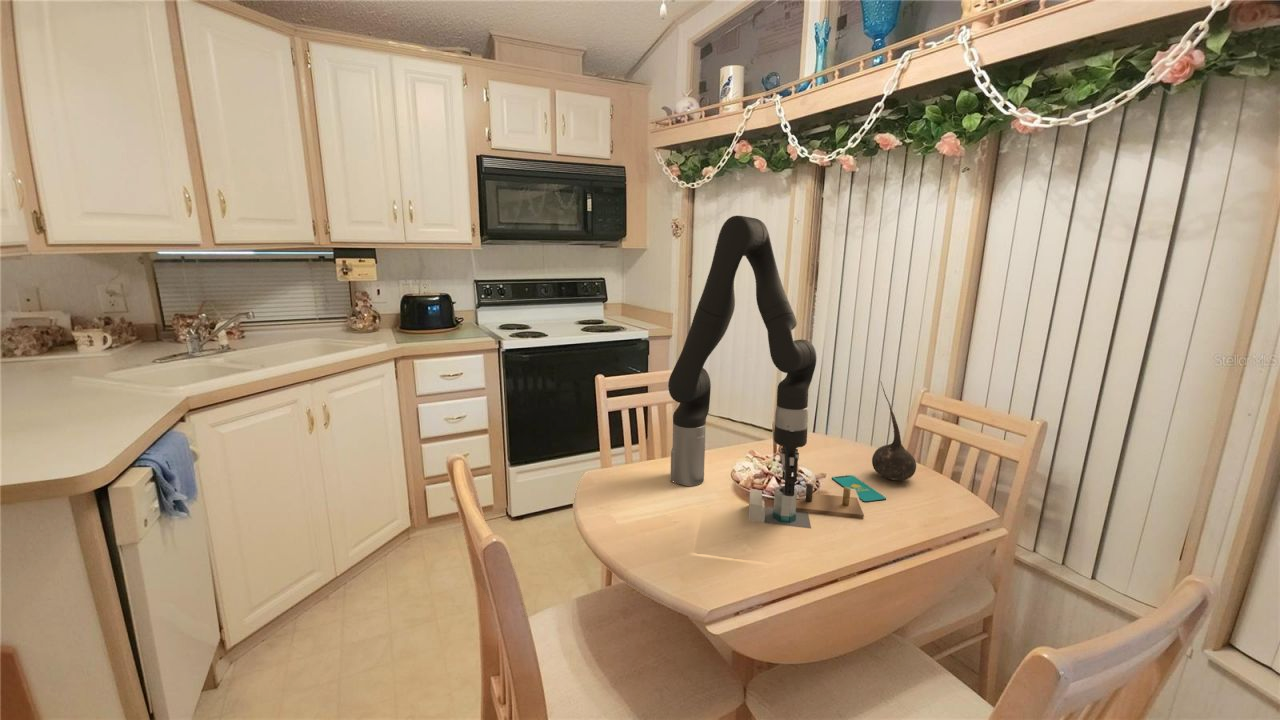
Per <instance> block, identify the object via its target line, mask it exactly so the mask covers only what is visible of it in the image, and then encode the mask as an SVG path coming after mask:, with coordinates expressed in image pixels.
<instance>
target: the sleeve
mask: <svg viewBox="0 0 1280 720" xmlns="http://www.w3.org/2000/svg"><path fill="white" fill-rule="evenodd" d="M784 487H785V485H780V486H776V487H775V488H774V498H773V499H774V500H773V501H774V502H773V507H772V508H773V518H774V519H776V520H778V521H779V522H785V523H791V522H793V521H795V520H796V499H797V492H798V491H797V489H795V488H794V496H785V494H784Z"/></svg>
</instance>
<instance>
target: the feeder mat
mask: <svg viewBox="0 0 1280 720" xmlns="http://www.w3.org/2000/svg"><path fill="white" fill-rule="evenodd" d="M748 500H749V501H748V522H753V523H760V524H771V525H778V526H787V527H796V528H802V529H803V528H805V529H812V525H811V522H810V514H809V513H807V512H798V511H796V520H795V521H793V522H791V523H785V522H779V521H778V520H776V519H774V518H773V508H774V507H769V506H765V500H764V499H763V490H761V489H752V488H751V489H749V499H748Z"/></svg>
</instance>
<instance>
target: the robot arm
mask: <svg viewBox="0 0 1280 720" xmlns="http://www.w3.org/2000/svg"><path fill="white" fill-rule="evenodd" d="M743 257H745V258H746V259H747V261H748V262H749V264H750V267H751V268H752V271H753V273H754V278H755V297H756V305H757V308H758V310H759V313H760V317H761V319H762V321H763V323H764V327H765V328H766V330H767V340H768V346H769V354H770V355H769V356H770V358H771V361H772V363H773V365H774V366H775V368H777V369H778V371H780V372H781V373H785V374H786V376H785V378H783V380H781V381H780V382H779V383H778V385H777V390H776V408H775V413H774V414H775V415H774V432H773V434H774V435H773V442H774V443H775V444H777V445H778V446H780V461H781V464H782V474H781V475H782V476H781V479H782V480H783V481H784V486H785V487H784V494H785V496H794V489H795V488H796V487H795V486H796V485H795V484H796V483H797V482H798V471H799V459H800V454H799V449H798V448H802V447H805V446H806V445H807V441H808V439H807V438H808V429H809V428H808V427H809V425H808V423H809V410H808V406H809V405H808V404H809V389H810V387H811V386H810V385H811V383H812V380H813V376H814V373H815V369H816V366H817V351H816V349H815V347H814V345H813V344H812V343H811V341H809V340H806V339H796V340H794V338H793V333H792V331H793V330H795V328H796V327H797V324H798V322H797V318H796V315H795V313H794V311H793V308H792V305H791V304H790V301H789V299H788V296H787V294H786V292H785V289H784V286H783V283H782V280H781V277H780V273H779V270H778V266H777V262H776V259H775V255H774V251H773V246H772V242H771V237H770V233H769V231H768V228H767V226H766V225H765V223H764V222H763V221H762V220H761V219H759V218H755V217H750V216H744V215H733V216H731V217H729V218H728V219H726V221H725V222H724V223H723V224H722V226H721V228H720V231H719V234H718V237H717V241H716V244H715V250H714V253H713V257H712V261H711V265H710V269H709V272H708V275H707V278H706V281H705V284H704V288H703V291H702V293H701V297H700V299H699V301H698V304H697V307H696V310H695V311H694V312H695V313H694V316H693V319H692V322H691V326H690V328H689V330H688V332H687V336H686V339H685V341H684V345H683V348H682V350H681V352H680V354H679V357H678V359H677V362H676V363H675V365H674V368H673V369H672V372H671V373H670V376H669V378H668V385H667V387H668V393H669V395H670V397H671V399H672V400H673V401H674V402H677V403H679V405H678V406H677V408H676V409H675V411H674V412H673V414H672V446H671V447H672V448H671V450H670V482H671V481H674V482H673V483H675V482H676V483H675V484H677V483H678V484H677V485H679V484H682V485H681V486H683V485H686V486H685V487H693V486H694V487H695V486H698V484H699V485H701V484H703V483H704V481H705V457H706V453H705V451H706V426H707V425H706V424H707V422H706V421H707V417H708V414H709V413H710V412H709V411H710V402H711V385H712V384H711V378H710V375H709V373H708V372H707V370H706V369H705V368H704V365H705V364H706V362H707V359H708V358H709V357H710V355H711V354H712V353H713V351H714V349H716V347H717V346H718V345H719V343H720V342H721V341H722V339H723V338H724V336H725V334H726V332H727V330H728V328H729V325H730V322H731V320H732V317H733V314H734V311H735V306H736V299H735V297H736V296H735V279H736V278H735V277H736V274H737V271H738V269H739V267H740V264H741V261H742V259H743ZM792 475H793V476H792Z"/></svg>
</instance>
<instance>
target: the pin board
mask: <svg viewBox="0 0 1280 720" xmlns="http://www.w3.org/2000/svg"><path fill="white" fill-rule="evenodd" d="M851 490H852V489H850V488H849V487H844V488H843V491H842V492H843V493H842V495H831V494H822V493H814V492H813V491H814V483H810V482H808V483H806V489H805V493H806V498H805V499H800V500H796V511H798V512H807V513H808V514H817V515H824V516H836V517H842V518H843V517H845V518H854V519H864V517H865V515H864V512H863V508H862V507H861V505H860V502H859V500H858V499H859V498H858V497H853V496H852V497H851ZM813 493H814V494H813Z"/></svg>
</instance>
